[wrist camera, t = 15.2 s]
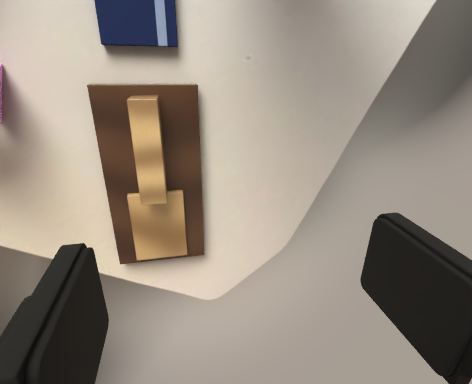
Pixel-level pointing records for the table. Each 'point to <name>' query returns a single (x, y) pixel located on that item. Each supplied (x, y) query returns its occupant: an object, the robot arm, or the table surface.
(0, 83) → the toy chair
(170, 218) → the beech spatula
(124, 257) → the walnut board
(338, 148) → the table surface
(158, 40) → the navy tea towel
